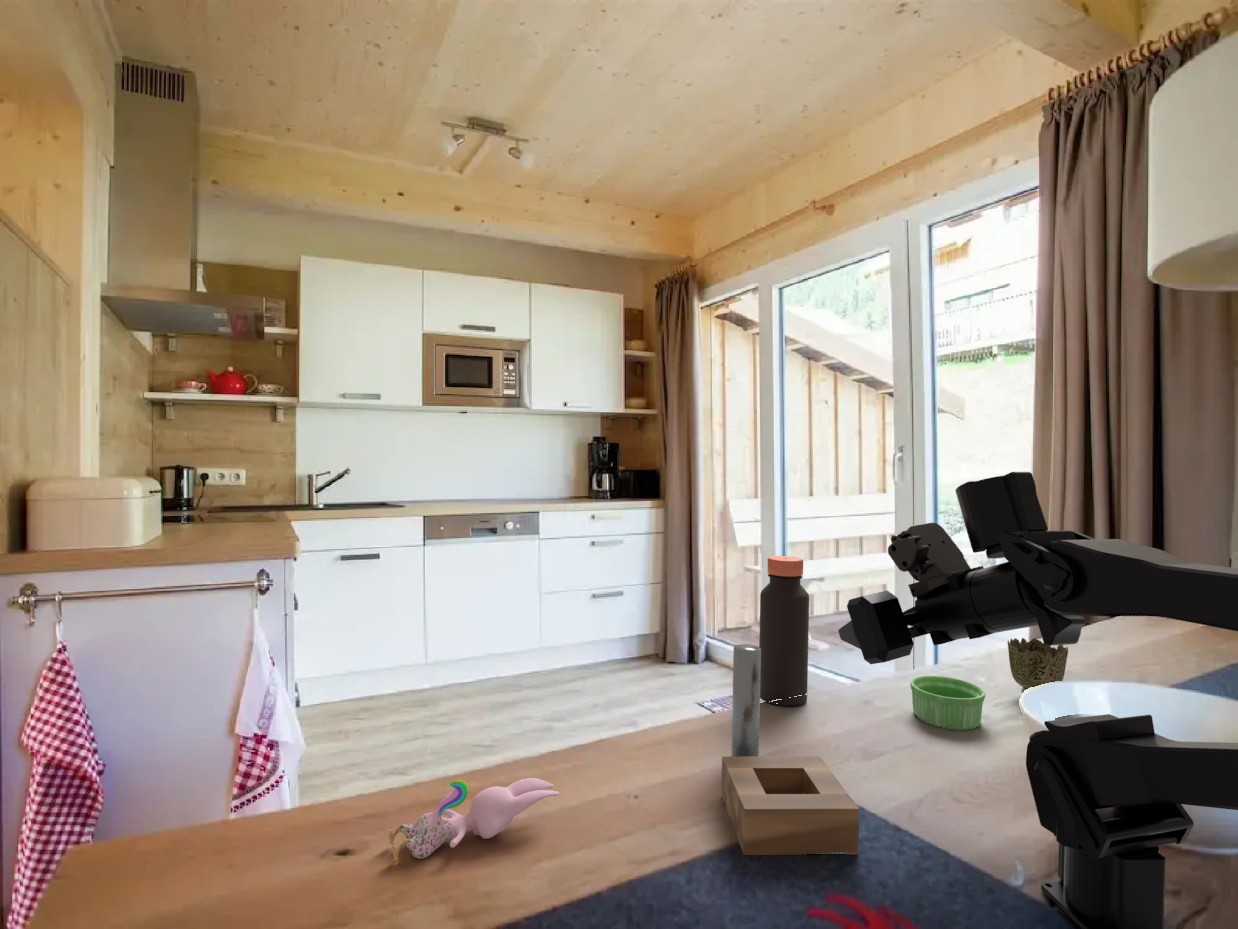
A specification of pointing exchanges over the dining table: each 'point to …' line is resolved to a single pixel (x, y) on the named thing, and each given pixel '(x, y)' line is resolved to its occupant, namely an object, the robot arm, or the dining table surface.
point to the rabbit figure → (470, 815)
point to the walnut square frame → (788, 806)
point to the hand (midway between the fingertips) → (871, 626)
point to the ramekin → (947, 702)
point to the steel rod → (746, 700)
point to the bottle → (784, 633)
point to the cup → (1036, 662)
